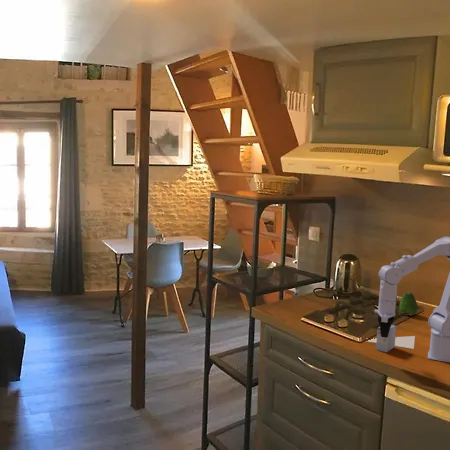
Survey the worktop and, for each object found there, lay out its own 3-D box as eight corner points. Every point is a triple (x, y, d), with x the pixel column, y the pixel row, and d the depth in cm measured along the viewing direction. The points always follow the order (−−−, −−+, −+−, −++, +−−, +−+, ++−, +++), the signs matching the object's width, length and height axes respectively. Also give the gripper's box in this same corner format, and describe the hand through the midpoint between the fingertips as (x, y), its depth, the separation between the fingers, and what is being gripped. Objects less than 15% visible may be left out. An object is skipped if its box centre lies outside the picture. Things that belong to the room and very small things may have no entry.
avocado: (395, 315, 238) (397, 290, 236) (407, 314, 241) (410, 289, 239) (407, 320, 230) (409, 294, 229) (420, 319, 233) (422, 293, 232)
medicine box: (383, 344, 195) (385, 323, 194) (394, 347, 192) (396, 325, 191) (375, 349, 189) (377, 327, 188) (387, 352, 186) (388, 330, 185)
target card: (415, 334, 210) (415, 333, 210) (413, 349, 192) (413, 348, 192) (365, 326, 217) (365, 326, 217) (359, 340, 199) (360, 340, 199)
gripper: (377, 293, 186) (374, 329, 188) (373, 302, 173) (370, 340, 175) (397, 296, 184) (394, 332, 185) (395, 305, 170) (391, 344, 172)
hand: (384, 336), depth 180 cm, fingers closed
